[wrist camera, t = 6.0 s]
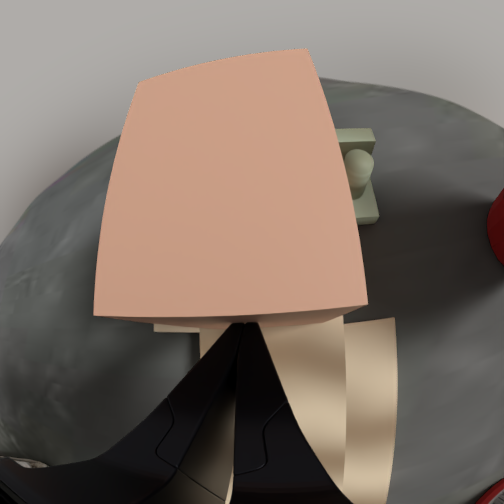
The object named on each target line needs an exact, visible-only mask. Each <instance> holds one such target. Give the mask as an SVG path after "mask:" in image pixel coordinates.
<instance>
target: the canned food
mask: <svg viewBox="0 0 504 504" xmlns="http://www.w3.org/2000/svg"><path fill="white" fill-rule="evenodd" d="M475 504H504V479H502V480H501V481H499V482H498V483H496V484H495V485H494V486H493V487H492V488H490V489H489V490H488V491H487V492H486V493H485V494H484V495H483V496H482V497H481V498H480V499H479V500H478V501H477V502H476V503H475Z"/></svg>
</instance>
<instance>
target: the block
mask: <svg viewBox="0 0 504 504" xmlns="http://www.w3.org/2000/svg"><path fill="white" fill-rule="evenodd" d="M365 305H368V299H367V290H366V281H365V273H364V266H363V259H362V252H361V245H360V239H359V233H358V228H357V222H356V217H355V211H354V206H353V201H352V196H351V192H350V187H349V183H348V178H347V174H346V170H345V166H344V162H343V158H342V154H341V150H340V146H339V142H338V139H337V135H336V132H335V128H334V125H333V121H332V118H331V115H330V111H329V108H328V105H327V102H326V99H325V96H324V93H323V90H322V87H321V84H320V81H319V78H318V75H317V73H316V70H315V67H314V64H313V62H312V59H311V57H310V54H309V51H308V49H294V50H282V51H271V52H263V53H256V54H249V55H242V56H236V57H231V58H225V59H220V60H215V61H211V62H207V63H202V64H198V65H194V66H190V67H186V68H182V69H179V70H176V71H172V72H169V73H165V74H162V75H159V76H156V77H153V78H150V79H147V80H144V81H141V82H139V83H138V86H137V89H136V92H135V94H134V97H133V100H132V103H131V106H130V109H129V112H128V115H127V118H126V121H125V125H124V128H123V131H122V134H121V138H120V141H119V145H118V149H117V153H116V156H115V160H114V164H113V169H112V173H111V177H110V182H109V187H108V192H107V197H106V202H105V207H104V213H103V219H102V226H101V233H100V240H99V248H98V257H97V267H96V279H95V294H94V316H100V317H107V318H114V319H121V320H128V321H136V322H144V323H152V324H162V325H171V326H182V327H194V328H207V329H227V328H228V327H229V325H230V324H232V323H244V324H245V323H247V322H258V323H259V326H260V327H276V326H291V325H304V324H315V323H324V322H327V321H329V320H332V319H334V318H337V317H339V316H342V315H344V314H347V313H349V312H351V311H354V310H356V309H358V308H361V307H363V306H365Z"/></svg>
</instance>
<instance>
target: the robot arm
mask: <svg viewBox="0 0 504 504" xmlns="http://www.w3.org/2000/svg"><path fill="white" fill-rule="evenodd" d="M167 398H168V399H167ZM167 398H165V399H164V400H163V401H162V402H161V403H160V404H159V405H158V406H157V407H156V409H155V410H154V411H153V412H152V413H151V414H150V415H149V416H148V417H147V418H146V419H144V420H143V421H142V422H141V423H140V424H139V425H138V426H137V427H136V428H134V429H133V430H132V431H131V432H130V433H128V434H127V435H126V436H125V437H124V438H122V439H121V440H120V441H119V442H117V443H116V444H115V445H114V446H113V447H111V448H110V449H109V450H107V451H106V452H105V453H103V454H101V455H100V456H98V457H96V458H93V459H90V460H86V461H81V462H76V463H70V464H64V465H57V466H49V467H41V468H27V467H23V466H22V465H20V464H19V463H17V462H16V461H14V460H13V459H11V458H10V457H3V458H0V504H225V503H226V502H225V501H226V498H227V493H228V488H229V483H230V478H231V473H232V468H233V476H234V477H233V486H232V495H231V499H230V502H229V504H354V503H352V502H351V501H350V500H349V499H348V498H347V497H346V496H345V495H344V494H343V492H342V491H341V490H340V489H339V488H338V487H337V485H336V484H335V483H334V481H333V480H332V478H331V477H330V476H329V474H328V473H327V471H326V470H325V468H324V466H323V465H322V463H321V462H320V460H319V459H318V457H317V456H316V454H315V452H314V451H313V449H312V448H311V446H310V444H309V443H308V441H307V439H306V438H305V436H304V434H303V432H302V431H301V429H300V427H299V425H298V422H297V420H296V418H295V416H294V413H293V411H292V408H291V406H290V403H289V402H288V399H287V396H286V394H285V391H284V388H283V386H282V383H281V381H280V378H279V376H278V373H277V370H276V368H275V365H274V363H273V360H272V357H271V355H270V352H269V350H268V347H267V344H266V342H265V339H264V336H263V334H262V331H261V328H260V326H259V323H258V322H247V323H245V324H244V323H232V324H230V325H229V327H228V328H227V329H226V330H225V331H224V332H223V334H222V335H221V336H220V337H219V338H218V339H217V340H216V342H215V343H214V344H213V345H212V346H211V347H210V349H209V350H208V351H207V352H206V353H205V354H204V355H203V357H202V358H201V359H200V360H199V361H198V362H197V363H196V364H195V366H194V367H193V368H192V369H191V370H190V371H189V372H188V373H187V375H186V376H185V377H184V378H183V379H182V380H181V381H180V382H179V384H178V385H177V386H176V387H175V388H174V389H173V390H172V391H171V392H170V394H169V395H168V396H167Z"/></svg>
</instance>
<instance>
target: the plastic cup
mask: <svg viewBox="0 0 504 504" xmlns="http://www.w3.org/2000/svg"><path fill="white" fill-rule="evenodd" d="M487 233H488V237H489V240H490V244H491V247H492V249H493V251H494V253H495V255H496V257H497V259H498V260H499V261H500V262H501V263H502V264H503V265H504V188H503V190H502V191H501V193H500V194H499V195H498V197H497V198H496V200H495V201H494V202H493V204H492V207H491V208H490V211H489V214H488V217H487Z"/></svg>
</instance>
